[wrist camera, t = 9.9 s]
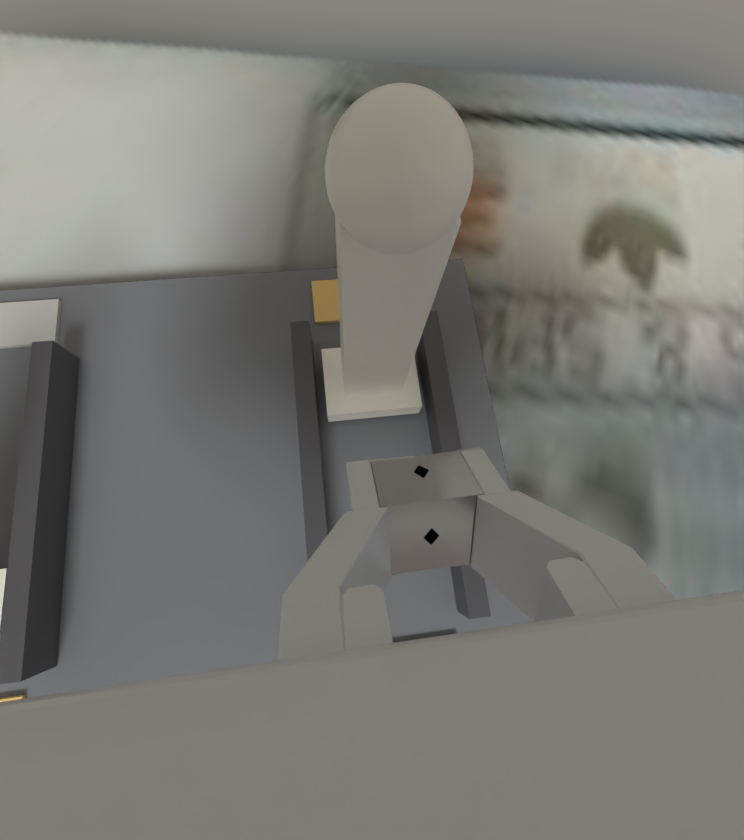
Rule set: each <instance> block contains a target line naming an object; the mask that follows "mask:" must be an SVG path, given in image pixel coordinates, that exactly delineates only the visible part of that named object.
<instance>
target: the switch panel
mask: <svg viewBox="0 0 744 840" xmlns="http://www.w3.org/2000/svg"><path fill="white" fill-rule="evenodd" d="M329 348H341V344H340V321H339V298H338V275H337V268H324V269H309V270H294V271H279V272H265V273H250V274H235V275H221V276H206V277H191V278H177V279H162V280H147V281H132V282H118V283H103V284H88V285H74V286H59V287H44V288H30V289H15V290H0V569H5V568H8V569H7V579H6V588H5V597H4V606H3V616H2V625H1V634H0V702H5V701H11V700H18V699H25V698H31V697H38V696H45V695H51V694H58V693H64V692H71V691H78V690H84V689H91V688H98V687H104V686H111V685H118V684H124V683H131V682H137V681H144V680H151V679H157V678H164V677H171V676H177V675H184V674H191V673H197V672H204V671H210V670H217V669H224V668H230V667H237V666H244V665H250V664H257V663H264V662H270V661H277V659H278V646H279V632H280V619H281V606H282V595H283V593H284V592H285V591H286V589H287V588H288V587H289V585H290V584H291V583H292V581H293V580H294V579H295V577H296V576H297V575H298V574H299V572H300V571H301V570H302V568H303V567H304V566H305V564H306V563H307V562H308V560H309V559H310V558H311V556H312V555H313V554H314V552H315V551H316V550H317V548H318V547H319V546H320V544H321V543H322V542H323V540H324V539H325V538H326V536H327V535H328V534H329V533H330V531H331V530H332V529H333V527H334V526H335V525H336V523H337V522H338V521H339V519H340V518H341V517H342V515H343V514H344V513H345V512H349V511H350V501H349V491H348V480H347V470H346V462H354V461H362V460H369V461H370V460H372V459H383V458H394V457H405V456H420V455H428V454H436V453H443V452H451V451H457V450H462V449H469V448H476V447H480V448H482V449H483V450H484V452H485V453H486V455H487V456H488V458H489V459H490V461H491V462H492V464H493V465H494V467H495V468H496V470H497V471H498V473H499V474H500V476H501V477H502V479H503V481H504V482H505V484H506V485H507V487H508V488H509V486H508V481H507V476H506V471H505V466H504V461H503V456H502V451H501V446H500V441H499V436H498V431H497V426H496V421H495V416H494V411H493V406H492V401H491V396H490V391H489V386H488V381H487V376H486V371H485V367H484V362H483V357H482V352H481V347H480V342H479V337H478V332H477V327H476V322H475V317H474V312H473V307H472V302H471V297H470V292H469V287H468V282H467V277H466V272H465V267H464V262H463V259H456V260H448V262H447V265H446V268H445V270H444V273H443V276H442V279H441V282H440V285H439V287H438V290H437V293H436V296H435V299H434V302H433V304H432V307H431V310H430V313H429V316H428V319H427V321H426V324H425V327H424V330H423V333H422V336H421V338H420V341H419V344H418V347H417V350H416V353H415V355H414V356H415V362H416V368H417V375H418V381H419V388H420V394H421V401H422V408H421V410H420V411H419V413H414V414H404V415H394V416H384V417H373V418H363V419H353V420H343V421H332V422H328V416H327V406H326V395H325V384H324V373H323V362H322V351H321V349H329ZM384 597H385V602H386V608H387V613H388V618H389V623H390V629H391V634H392V639H393V643H396V642H403V641H410V640H416V639H423V638H429V637H436V636H443V635H449V634H456V633H463V632H469V631H476V630H483V629H489V628H496V627H503V626H509V625H516V624H522V623H529V622H534V621H533V620H532V619H531V618H529V617H528V616H527V615H526V614H525V613H524V612H522V611H521V610H520V609H519V608H518V607H517V606H516V605H514V604H513V603H512V602H511V601H510V600H509V599H507V598H506V597H505V596H504V595H503V594H502V593H501V592H499V591H498V590H497V589H496V588H495V587H494V586H493V585H491V584H490V583H489V582H488V581H487V580H486V579H484V578H483V577H482V576H481V575H480V574H479V573H478V572H476V571H475V570H474V569H473V568H472V567H471V565H462V566H453V567H444V568H434V569H427V570H421V571H415V572H409V573H403V574H397V575H391V579H390V582H389V584H388V586H387V589H386V591H385V593H384Z"/></svg>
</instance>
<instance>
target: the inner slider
mask: <svg viewBox="0 0 744 840" xmlns="http://www.w3.org/2000/svg"><path fill="white" fill-rule="evenodd" d="M7 569H8V568H5V569H0V634H1V625H2V616H3V606H4V597H5V588H6V579H7Z"/></svg>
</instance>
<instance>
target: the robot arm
mask: <svg viewBox="0 0 744 840" xmlns="http://www.w3.org/2000/svg"><path fill="white" fill-rule="evenodd" d="M346 470H347V480H348V491H349V501H350V511H349V512H345V513H344V514H343V515H342V517H341V518H340V519H339V521H338V522H337V523H336V525H335V526H334V527H333V529H332V530H331V531H330V533H329V534H328V535H327V536H326V538H325V539H324V540H323V542H322V543H321V544H320V546H319V547H318V548H317V550H316V551H315V552H314V554H313V555H312V556H311V558H310V559H309V560H308V562H307V563H306V564H305V566H304V567H303V568H302V570H301V571H300V572H299V574H298V575H297V576H296V577H295V579H294V580H293V581H292V583H291V584H290V585H289V587H288V588H287V589H286V591H285V592H284V593H283V595H282V606H281V619H280V632H279V646H278V659H277V661H270V662H264V663H257V664H250V665H244V666H237V667H230V668H224V669H217V670H210V671H204V672H197V673H191V674H184V675H177V676H171V677H164V678H157V679H151V680H144V681H137V682H131V683H124V684H118V685H111V686H104V687H98V688H91V689H84V690H78V691H71V692H64V693H58V694H51V695H45V696H38V697H31V698H25V699H18V700H11V701H5V702H0V840H744V590H742V591H735V592H729V593H722V594H715V595H709V596H702V597H696V598H689V599H682V600H677V599H676V598H675V597H674V596H673V594H672V593H671V592H670V591H669V590H668V589H667V588H666V586H665V585H664V584H663V583H662V582H661V581H660V580H659V578H658V577H657V576H656V575H655V574H654V573H653V572H652V570H651V569H650V568H649V567H648V566H647V565H646V564H645V562H644V561H643V560H642V559H641V558H640V557H639V556H638V555H637V553H636V552H635V551H634V550H633V549H632V548H631V547H629V546H627V545H625V544H623V543H621V542H619V541H617V540H615V539H613V538H611V537H609V536H607V535H605V534H603V533H601V532H599V531H597V530H595V529H593V528H591V527H589V526H587V525H585V524H583V523H581V522H579V521H577V520H575V519H573V518H571V517H569V516H567V515H565V514H563V513H561V512H559V511H557V510H555V509H553V508H551V507H549V506H547V505H545V504H543V503H541V502H539V501H537V500H535V499H533V498H531V497H529V496H527V495H525V494H523V493H521V492H519V491H512V492H511V491H510V490H509V488H508V487H507V485H506V484H505V482H504V481H503V479H502V477H501V476H500V474H499V473H498V471H497V470H496V468H495V467H494V465H493V464H492V462H491V461H490V459H489V458H488V456H487V455H486V453H485V452H484V450H483V449H482V448H480V447H476V448H469V449H462V450H457V451H451V452H443V453H436V454H428V455H420V456H405V457H394V458H383V459H372V460H370V461H369V460H362V461H354V462H346ZM462 565H471V567H472V568H473V569H474V570H475V571H476V572H478V573H479V574H480V575H481V576H482V577H483V578H484V579H486V580H487V581H488V582H489V583H490V584H491V585H493V586H494V587H495V588H496V589H497V590H498V591H499V592H501V593H502V594H503V595H504V596H505V597H506V598H507V599H509V600H510V601H511V602H512V603H513V604H514V605H516V606H517V607H518V608H519V609H520V610H521V611H522V612H524V613H525V614H526V615H527V616H528V617H529V618H531V619H532V620H533V621H534V622H529V623H522V624H516V625H509V626H503V627H496V628H489V629H483V630H476V631H469V632H463V633H456V634H449V635H443V636H436V637H429V638H423V639H416V640H410V641H403V642H396V643H393V639H392V634H391V629H390V623H389V618H388V613H387V608H386V602H385V597H384V593H385V591H386V589H387V586H388V584H389V582H390V579H391V575H397V574H403V573H409V572H415V571H421V570H427V569H434V568H444V567H453V566H462Z"/></svg>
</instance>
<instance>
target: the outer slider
mask: <svg viewBox="0 0 744 840" xmlns="http://www.w3.org/2000/svg"><path fill="white" fill-rule="evenodd" d="M473 172H474V161H473V151H472V146H471V141H470V138H469V135H468V132H467V130H466V127H465V125H464V123H463V121H462V119H461V118H460V116H459V115H458V113H457V112H456V110H455V109H454V108H453V107H452V106H451V104H450V103H449V102H448V101H446V100H445V99H444V98H443V97H442V96H440V95H439V94H437V93H436V92H434V91H433V90H431V89H429V88H426V87H424V86H420V85H417V84H412V83H391V84H386V85H383V86H380V87H377V88H375V89H373V90H370V91H369V92H367V93H365V94H364V95H362V96H361V97H360V98H358V99H357V100H356V101H355V102H353V104H352V105H351V106H350V107H349V108H348V109H347V110H346V111H345V113H344V114H343V115H342V117H341V118H340V120H339V121H338V123H337V125H336V127H335V129H334V131H333V133H332V136H331V139H330V142H329V145H328V148H327V154H326V161H325V182H326V189H327V194H328V198H329V201H330V204H331V206H332V209H333V211H334V213H335V229H336V252H337V275H338V298H339V321H340V344H341V348H329V349H321V351H322V362H323V373H324V384H325V395H326V406H327V416H328V422H332V421H343V420H353V419H363V418H373V417H384V416H394V415H404V414H414V413H419V411H420V410H421V408H422V401H421V394H420V388H419V381H418V375H417V368H416V362H415V356H414V355H415V353H416V350H417V347H418V344H419V341H420V338H421V336H422V333H423V330H424V327H425V324H426V321H427V319H428V316H429V313H430V310H431V307H432V304H433V302H434V299H435V296H436V293H437V290H438V287H439V285H440V282H441V279H442V276H443V273H444V270H445V268H446V265H447V262H448V259H449V256H450V253H451V251H452V248H453V245H454V242H455V239H456V237H457V234H458V231H459V228H460V225H461V218H460V215H461V213H462V212H463V210H464V207H465V205H466V203H467V200H468V197H469V194H470V191H471V186H472V181H473Z"/></svg>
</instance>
